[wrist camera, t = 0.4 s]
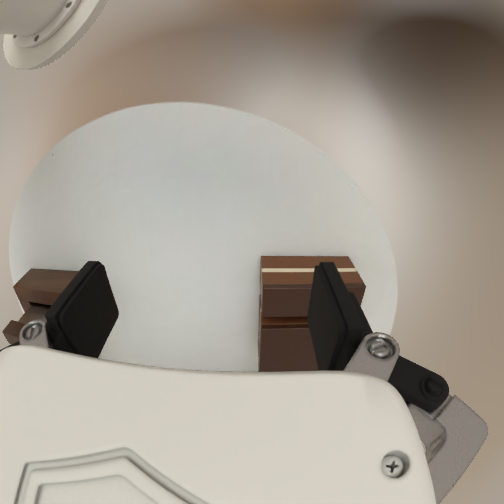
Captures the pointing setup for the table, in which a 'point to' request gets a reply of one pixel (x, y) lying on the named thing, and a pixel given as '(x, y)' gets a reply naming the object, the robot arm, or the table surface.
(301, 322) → the cake
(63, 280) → the knife block
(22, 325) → the knife
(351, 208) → the table surface
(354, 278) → the cake slice
